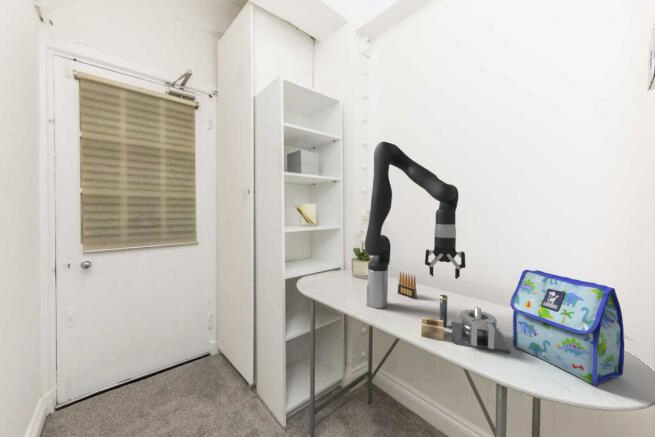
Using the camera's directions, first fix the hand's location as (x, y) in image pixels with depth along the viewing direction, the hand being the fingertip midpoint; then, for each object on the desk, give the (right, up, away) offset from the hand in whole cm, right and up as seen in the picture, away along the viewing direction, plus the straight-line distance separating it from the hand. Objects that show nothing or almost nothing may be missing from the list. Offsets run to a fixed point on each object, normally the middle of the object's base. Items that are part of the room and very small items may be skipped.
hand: (444, 277), depth 100 cm
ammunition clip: (-4, -18, +35) cm, 39 cm away
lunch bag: (+25, -21, -22) cm, 39 cm away
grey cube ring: (+8, -19, -10) cm, 22 cm away
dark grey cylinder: (0, -19, +1) cm, 19 cm away
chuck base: (+8, -20, -8) cm, 23 cm away
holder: (-7, -20, -5) cm, 21 cm away
